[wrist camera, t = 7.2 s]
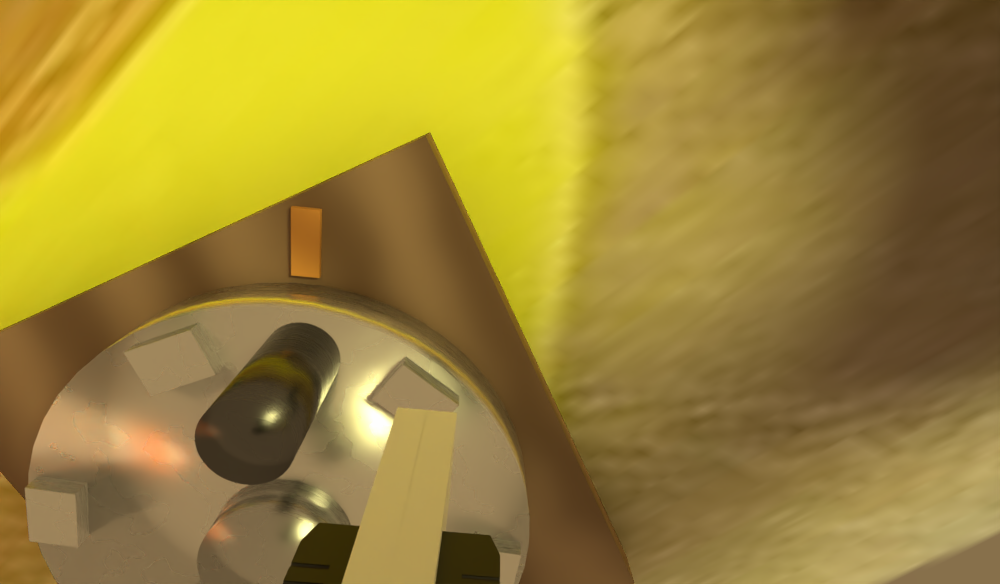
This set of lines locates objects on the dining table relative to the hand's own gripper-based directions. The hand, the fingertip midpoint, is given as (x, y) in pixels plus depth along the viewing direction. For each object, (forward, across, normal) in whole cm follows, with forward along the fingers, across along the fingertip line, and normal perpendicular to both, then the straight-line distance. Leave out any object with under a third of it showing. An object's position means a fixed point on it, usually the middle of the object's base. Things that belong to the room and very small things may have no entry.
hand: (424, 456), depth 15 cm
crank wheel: (+11, -7, -11) cm, 17 cm away
